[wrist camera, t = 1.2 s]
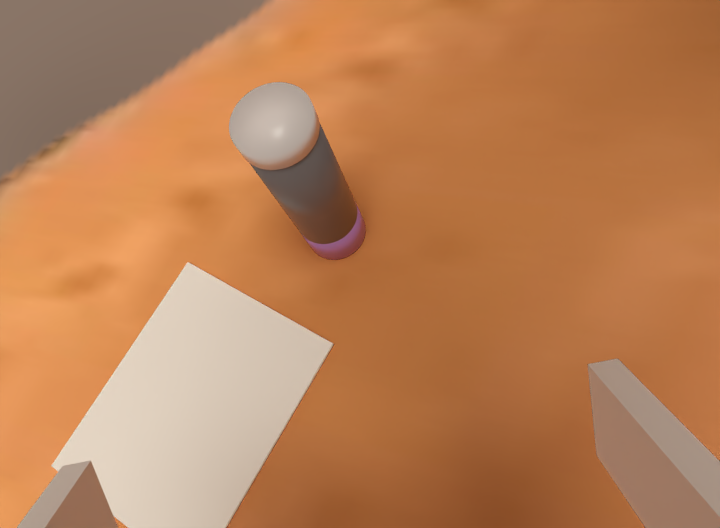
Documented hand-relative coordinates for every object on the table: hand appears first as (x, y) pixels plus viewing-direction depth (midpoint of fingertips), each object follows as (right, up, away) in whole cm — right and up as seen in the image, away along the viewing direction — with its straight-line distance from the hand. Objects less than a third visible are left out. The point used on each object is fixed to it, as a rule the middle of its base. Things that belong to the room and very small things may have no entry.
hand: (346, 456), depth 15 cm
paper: (-9, -3, +18) cm, 21 cm away
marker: (-1, +7, +20) cm, 21 cm away
